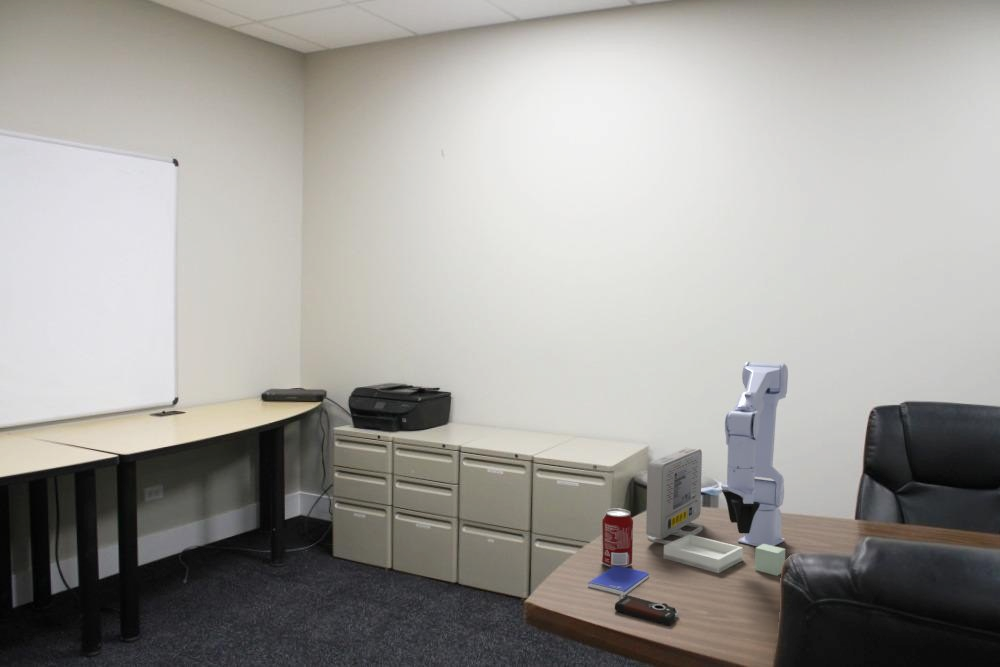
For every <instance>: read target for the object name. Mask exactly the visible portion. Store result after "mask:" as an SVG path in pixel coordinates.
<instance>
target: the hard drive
mask: <svg viewBox="0 0 1000 667" xmlns="http://www.w3.org/2000/svg"><path fill="white" fill-rule="evenodd" d="M649 577H650V574H649V572H647V571H643V570H638V569H633V568H630V567H626V568H625V567H621V566H613V567H612V568H610V567H609V569H607V570H606V571H604V572H603V573H601V574H599V575H597V576H595V577H594V578H592V579H591V580H590V581H588V582H587V587H588V588H589V587H590V588H593V589H596V590H597V589H598V590H601V591H604V592H609V593H614V594H615V595H616V594H617V595H619V596H621V595H622V594H623V595H624V596H626V595H628V593H630V592H631V591H633V590H634V589H635V588H636V587H638V586H639V585H640V584H642V583H643V582H644V581H645V580H647V579H648V578H649Z"/></svg>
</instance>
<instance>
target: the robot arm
mask: <svg viewBox="0 0 1000 667" xmlns="http://www.w3.org/2000/svg"><path fill="white" fill-rule="evenodd" d="M741 375H742V377H741V380H742V384H743V386H744V389H745V391H744V392H742V393H741V394H740V395H739V396H738V398H737V400H736V403H735V405H734V407H733V409H732V410H731V411H730V412H727V413H726V415H725V420H724V432H725V443H726V445H727V464H726V465H727V468H726V469H727V470H726V472H727V474H726V475H727V476H726V484H725V483H724V484H721V486H720V487H721V489H722V490H721V492H722V494H723V496H724V499H725V502H726V506H727V510H728V515H729V520H730V522H731V524H732V523H733V524H734V523H736V525H737V526H736V527H737V531H738V533H739V534H744V536H743V537H740V538H739V539H737V542H738V543H741V544H746V545H750V546H755V547H758V546H760V545H762V544H767V545H771V546H775V547H776V546H777V545H779V544H780V543H782V542H785V540H786V539H785V538H784V537H782V522H783V521H782V518H783V517H782V512H781V509H780V507H782V506H783V504H784V499H785V484H784V481H785V480H784V477H783V475H782V474H781V472H780V471H778V470H777V469H776V468H775V467H774V466H773V464H774V450H775V449H774V448H775V436H776V433H775V432H776V419H777V418H776V417H777V407H778V404H779V401H781V400H782V399H785V398H786V397H787V393H788V381H789V379H788V378H789V369H788V366H787V365H786V364H785V363H769V362H768V363H767V362H751V361H746V362H745V363H744V364H743V367H742V373H741ZM755 477H756V478H755ZM759 478H763V479H759ZM768 479H769V480H768Z"/></svg>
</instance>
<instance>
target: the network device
mask: <svg viewBox="0 0 1000 667" xmlns="http://www.w3.org/2000/svg"><path fill="white" fill-rule="evenodd" d="M702 462H703V454H702V450H701V448H692V447H685V448H682V449H679V450H676V451H675V452H672V453H669V454H666V455H664V456H662V457H659V458H656V459H654V460H652V461H649V463H648V465H647V470H646V471H647V475H646V479H647V480H646V481H647V482H646V527H645V528H646V530H645V533H646V536H647V539H646V540H648V541H650V542H653V543H658V544H662V545H666V544H668V543H671V542H673V541H674V540H673V541H672V540H667V539H665V538H667V537H669V536H670V535H671V536H677V537H680V538H682V537H684V536H687V535H689V534H690V535H694V536H696V535H697V534H699V533H700V532H702V531H703V525H701V524H699V523H695V522H693V521H695V520H697V519H698V518H700V516H701V510H702V509H701V506H702V505H701V503H702V500H701V499H702V466H703V465H702ZM685 526H687V527H692V528H695V529H694V530H691V531H685V530H682V528H683V527H685Z"/></svg>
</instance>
